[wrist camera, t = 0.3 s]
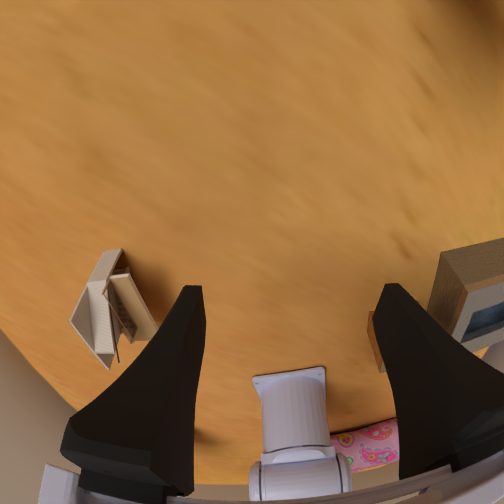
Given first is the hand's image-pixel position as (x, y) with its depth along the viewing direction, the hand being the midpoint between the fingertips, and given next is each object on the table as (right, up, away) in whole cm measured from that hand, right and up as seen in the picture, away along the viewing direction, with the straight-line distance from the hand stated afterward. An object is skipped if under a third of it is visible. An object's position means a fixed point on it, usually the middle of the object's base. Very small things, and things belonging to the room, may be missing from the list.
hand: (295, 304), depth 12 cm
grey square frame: (+20, -1, +13) cm, 24 cm away
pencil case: (+20, -29, +34) cm, 49 cm away
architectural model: (-12, 0, +12) cm, 17 cm away
